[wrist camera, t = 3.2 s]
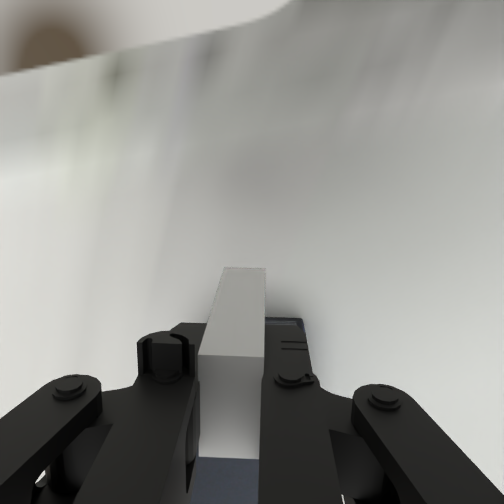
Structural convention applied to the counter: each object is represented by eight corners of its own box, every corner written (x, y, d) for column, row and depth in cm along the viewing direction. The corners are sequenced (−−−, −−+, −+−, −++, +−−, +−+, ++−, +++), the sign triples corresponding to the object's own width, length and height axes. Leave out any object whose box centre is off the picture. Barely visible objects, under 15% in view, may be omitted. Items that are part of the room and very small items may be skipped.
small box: (304, 455, 32) (317, 606, 22) (211, 452, 33) (183, 600, 22) (308, 315, 29) (326, 417, 19) (207, 314, 30) (172, 413, 20)
